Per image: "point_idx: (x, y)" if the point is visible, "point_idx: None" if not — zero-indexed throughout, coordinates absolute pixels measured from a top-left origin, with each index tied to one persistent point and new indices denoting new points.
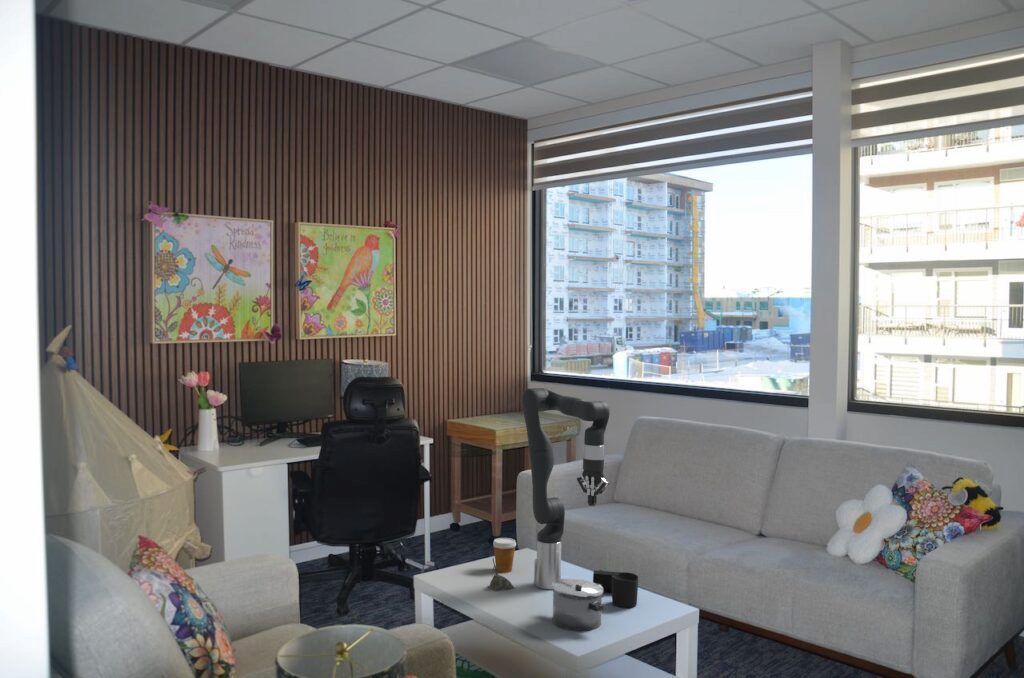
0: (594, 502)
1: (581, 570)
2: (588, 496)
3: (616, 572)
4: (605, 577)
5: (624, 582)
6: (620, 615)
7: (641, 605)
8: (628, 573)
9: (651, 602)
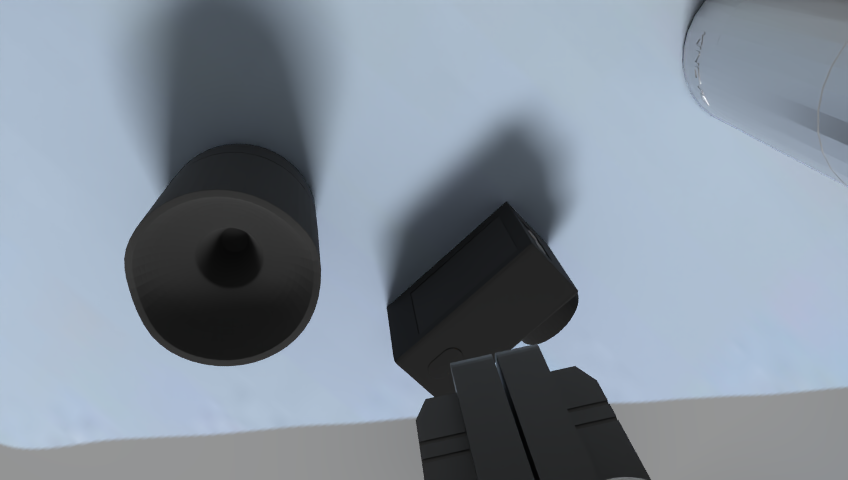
0: (421, 443)
1: (799, 386)
2: (624, 472)
3: None
4: (466, 288)
5: (151, 210)
6: (95, 54)
7: None
8: (268, 346)
9: None
